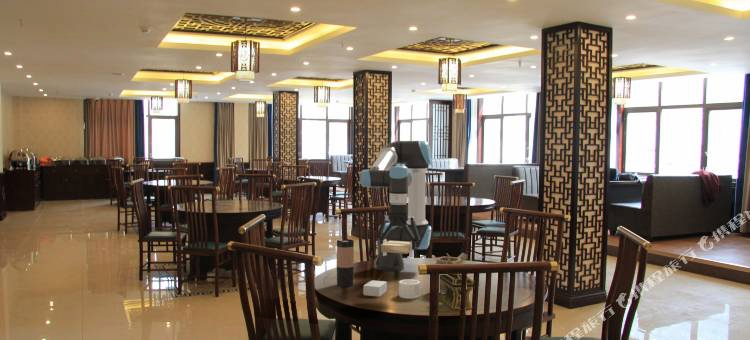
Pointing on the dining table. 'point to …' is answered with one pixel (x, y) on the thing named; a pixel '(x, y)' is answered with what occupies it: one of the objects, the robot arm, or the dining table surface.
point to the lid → (396, 247)
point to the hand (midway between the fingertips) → (398, 256)
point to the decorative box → (455, 288)
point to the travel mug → (345, 263)
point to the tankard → (453, 259)
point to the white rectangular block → (375, 288)
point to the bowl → (409, 289)
